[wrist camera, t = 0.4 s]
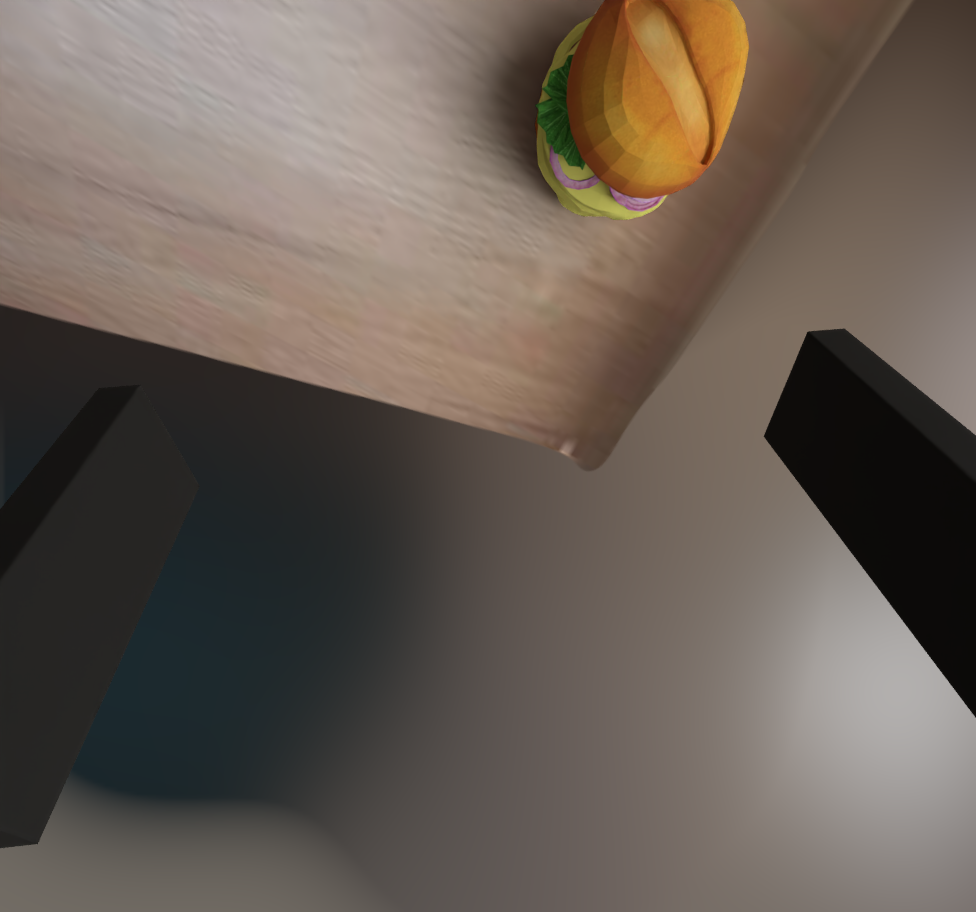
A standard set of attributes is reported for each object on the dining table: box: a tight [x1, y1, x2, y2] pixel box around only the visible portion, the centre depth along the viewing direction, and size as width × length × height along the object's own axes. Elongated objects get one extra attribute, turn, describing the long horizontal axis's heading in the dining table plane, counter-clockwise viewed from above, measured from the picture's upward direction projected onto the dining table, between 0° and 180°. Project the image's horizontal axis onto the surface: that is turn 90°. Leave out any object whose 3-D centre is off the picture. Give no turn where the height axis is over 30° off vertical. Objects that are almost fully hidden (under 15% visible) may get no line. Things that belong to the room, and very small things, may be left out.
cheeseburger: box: [535, 0, 749, 220], centre depth 28 cm, size 10×11×10 cm
